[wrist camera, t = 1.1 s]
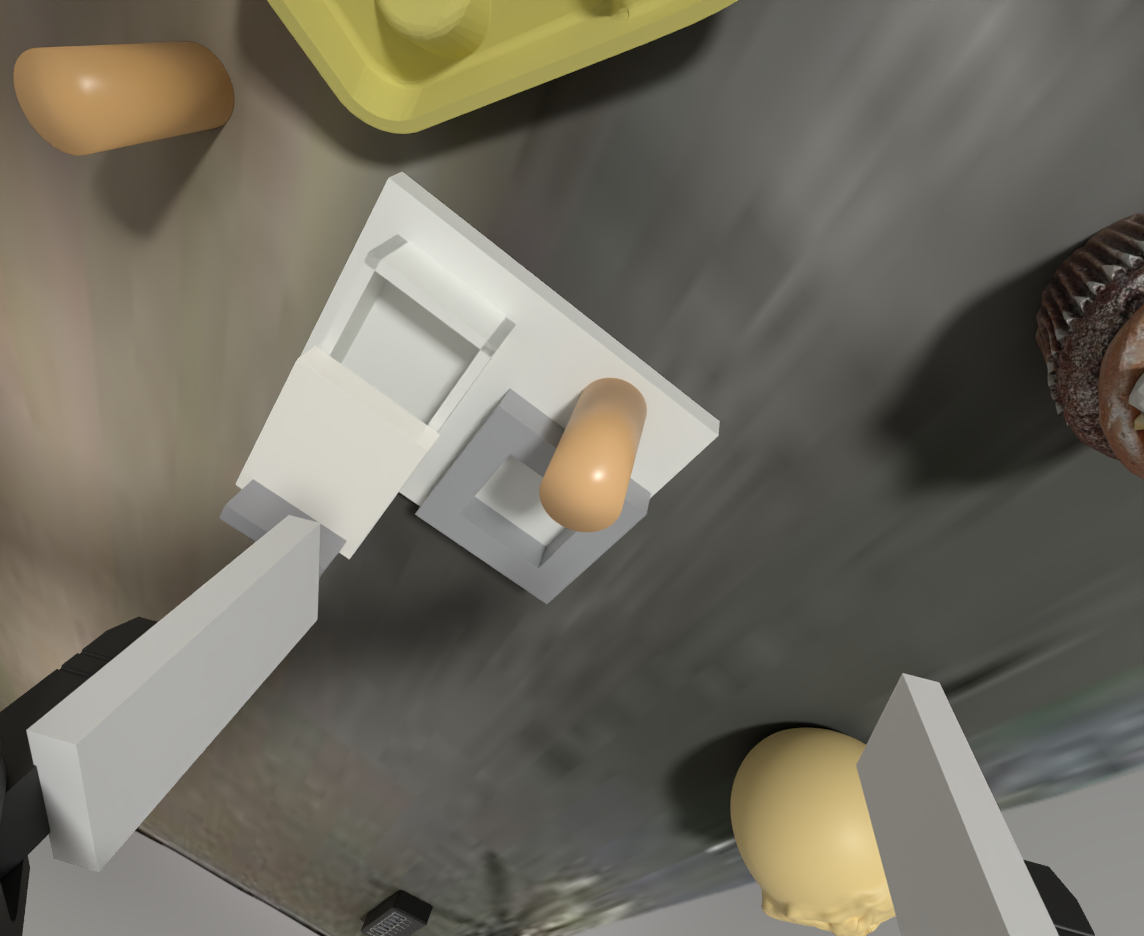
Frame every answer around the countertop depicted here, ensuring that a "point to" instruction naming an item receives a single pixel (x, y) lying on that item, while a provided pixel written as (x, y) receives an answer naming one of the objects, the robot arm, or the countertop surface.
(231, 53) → the countertop surface
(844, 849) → the sculpture
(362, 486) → the lid
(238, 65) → the countertop surface
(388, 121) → the plastic component
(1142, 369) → the cupcake
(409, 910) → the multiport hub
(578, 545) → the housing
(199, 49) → the peg
